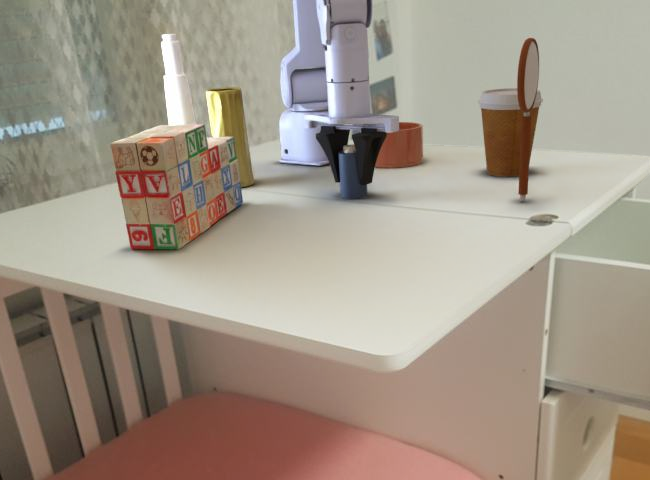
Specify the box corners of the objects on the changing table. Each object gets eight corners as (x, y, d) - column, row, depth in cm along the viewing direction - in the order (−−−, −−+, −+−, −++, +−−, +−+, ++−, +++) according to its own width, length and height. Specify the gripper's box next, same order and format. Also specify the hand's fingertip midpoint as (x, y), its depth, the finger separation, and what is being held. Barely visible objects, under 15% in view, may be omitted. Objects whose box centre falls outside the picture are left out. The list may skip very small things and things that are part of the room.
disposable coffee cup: (486, 165, 117) (489, 87, 112) (545, 167, 113) (550, 87, 108) (468, 177, 109) (469, 94, 104) (530, 180, 105) (534, 95, 100)
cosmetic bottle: (205, 172, 123) (185, 32, 113) (212, 178, 117) (191, 33, 108) (170, 176, 121) (146, 35, 111) (174, 183, 116) (151, 35, 106)
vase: (220, 181, 116) (208, 87, 110) (257, 179, 115) (247, 86, 109) (212, 189, 110) (198, 92, 104) (251, 188, 110) (240, 90, 104)
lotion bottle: (335, 197, 102) (332, 147, 99) (350, 191, 104) (348, 142, 102) (357, 200, 100) (355, 149, 97) (372, 194, 103) (370, 144, 100)
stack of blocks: (202, 203, 102) (189, 114, 97) (244, 203, 101) (233, 113, 96) (129, 249, 83) (108, 141, 78) (179, 250, 82) (161, 140, 77)
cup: (357, 165, 122) (355, 129, 119) (386, 155, 129) (385, 121, 126) (405, 169, 117) (404, 131, 114) (432, 159, 124) (432, 123, 121)
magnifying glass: (521, 210, 91) (529, 39, 82) (508, 209, 92) (514, 40, 83) (536, 194, 98) (544, 35, 89) (523, 193, 99) (531, 36, 90)
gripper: (287, 83, 96) (295, 184, 102) (377, 84, 89) (381, 193, 95) (318, 78, 102) (324, 174, 107) (406, 78, 94) (408, 182, 100)
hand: (353, 182), depth 101 cm, fingers closed on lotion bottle, 4 cm apart
